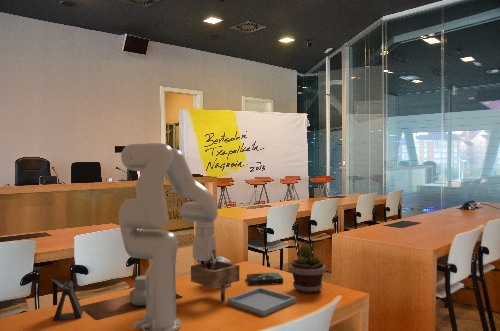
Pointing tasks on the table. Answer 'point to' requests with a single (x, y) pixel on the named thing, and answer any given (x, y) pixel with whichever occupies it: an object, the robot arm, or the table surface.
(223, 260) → the light bulb box
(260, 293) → the tray
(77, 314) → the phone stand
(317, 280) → the flowerpot
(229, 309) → the table surface
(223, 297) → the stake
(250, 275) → the disk drive
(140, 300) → the air freshener
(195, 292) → the table surface
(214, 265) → the frame
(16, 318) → the table surface
